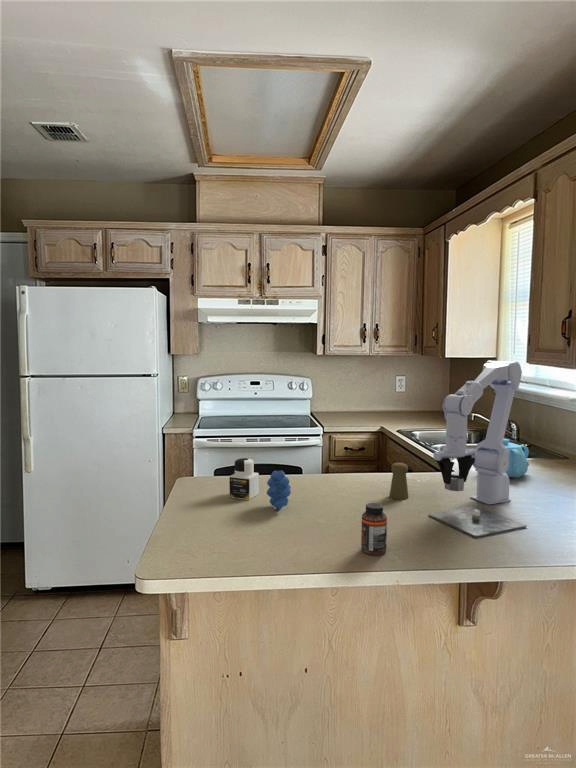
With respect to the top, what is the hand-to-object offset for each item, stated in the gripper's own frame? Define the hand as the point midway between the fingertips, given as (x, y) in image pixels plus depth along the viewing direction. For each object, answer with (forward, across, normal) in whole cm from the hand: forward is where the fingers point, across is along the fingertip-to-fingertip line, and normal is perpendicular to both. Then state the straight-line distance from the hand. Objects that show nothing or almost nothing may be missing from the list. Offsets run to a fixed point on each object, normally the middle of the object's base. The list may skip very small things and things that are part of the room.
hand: (454, 482), depth 149 cm
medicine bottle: (+9, +52, -39) cm, 65 cm away
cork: (+9, +6, -18) cm, 21 cm away
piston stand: (+9, 0, +9) cm, 12 cm away
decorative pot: (+9, -46, -25) cm, 53 cm away
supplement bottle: (+9, +37, +14) cm, 40 cm away
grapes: (+9, +45, -23) cm, 52 cm away
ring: (+2, 0, 0) cm, 2 cm away
